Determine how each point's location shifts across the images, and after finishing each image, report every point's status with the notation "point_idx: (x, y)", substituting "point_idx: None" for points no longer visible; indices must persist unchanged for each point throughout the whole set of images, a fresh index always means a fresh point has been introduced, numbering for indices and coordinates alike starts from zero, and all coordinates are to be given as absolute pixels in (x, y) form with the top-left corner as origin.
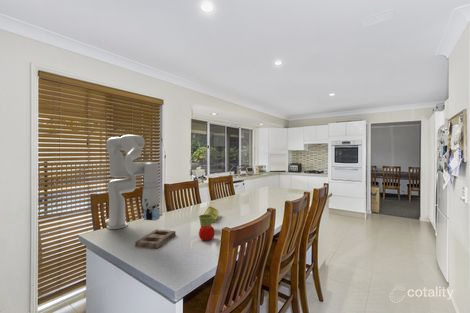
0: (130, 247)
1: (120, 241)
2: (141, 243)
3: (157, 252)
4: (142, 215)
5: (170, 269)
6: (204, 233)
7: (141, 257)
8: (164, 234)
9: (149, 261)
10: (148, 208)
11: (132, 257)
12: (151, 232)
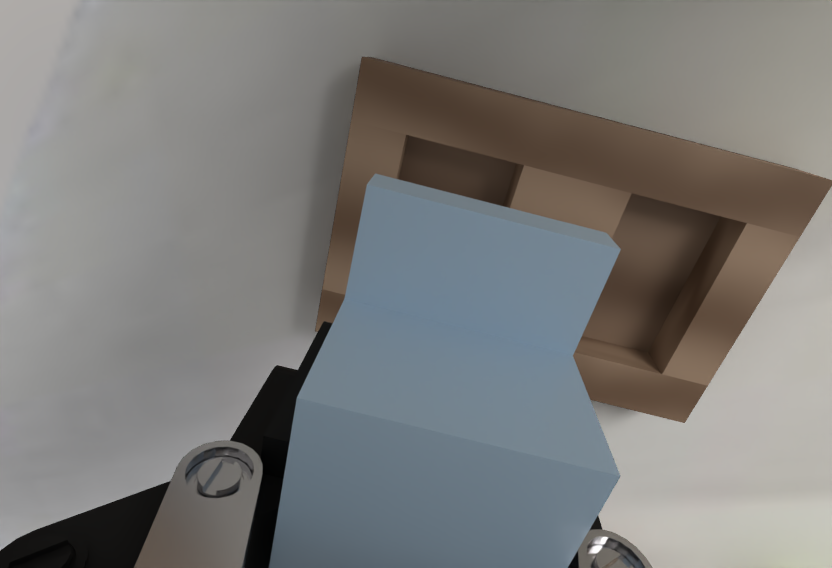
0: (340, 6)
1: None
2: (349, 146)
3: (255, 325)
4: (356, 246)
5: (44, 451)
6: None
7: (141, 226)
8: (680, 299)
9: (97, 309)
10: (531, 506)
11: (121, 144)
12: (701, 158)
